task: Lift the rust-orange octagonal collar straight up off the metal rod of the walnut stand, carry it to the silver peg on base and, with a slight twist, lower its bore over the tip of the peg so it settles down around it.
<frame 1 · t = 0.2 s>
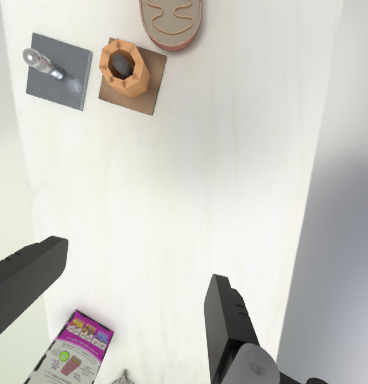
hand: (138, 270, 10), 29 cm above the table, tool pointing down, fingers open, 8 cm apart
silver peg on base: (60, 74, 34), on the table
collar: (131, 77, 33), point 1 cm above the table, touching stand
stand: (132, 79, 34), on the table
mug: (124, 382, 50), on the table
candy bar box: (91, 326, 46), on the table
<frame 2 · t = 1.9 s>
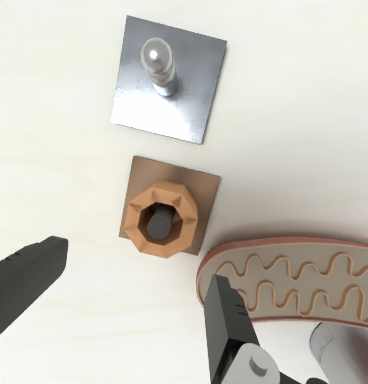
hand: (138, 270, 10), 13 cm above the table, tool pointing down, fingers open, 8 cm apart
silver peg on base: (167, 86, 20), on the table
collar: (167, 208, 22), point 1 cm above the table, touching stand
stand: (168, 205, 23), on the table
anatomical model: (283, 258, 24), on the table
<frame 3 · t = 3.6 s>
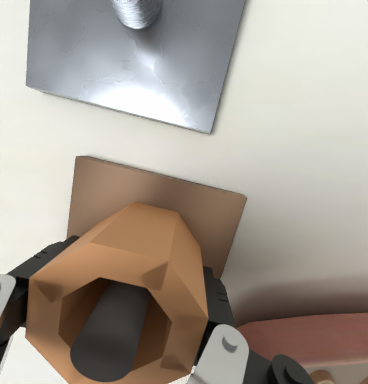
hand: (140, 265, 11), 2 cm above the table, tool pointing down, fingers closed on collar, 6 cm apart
silver peg on base: (141, 14, 10), on the table
collar: (145, 254, 12), point 1 cm above the table, touching gripper, stand
stand: (148, 246, 13), on the table
anatomical model: (346, 335, 14), on the table
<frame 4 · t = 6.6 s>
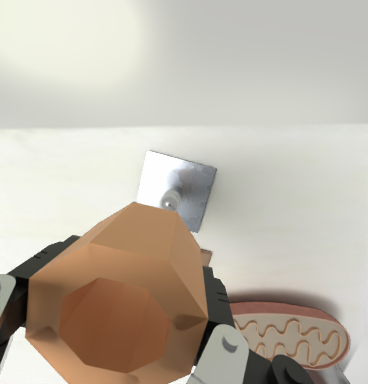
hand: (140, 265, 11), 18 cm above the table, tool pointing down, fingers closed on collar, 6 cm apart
silver peg on base: (174, 192, 28), on the table
collar: (145, 254, 12), point 17 cm above the table, touching gripper
anatomical model: (258, 312, 33), on the table
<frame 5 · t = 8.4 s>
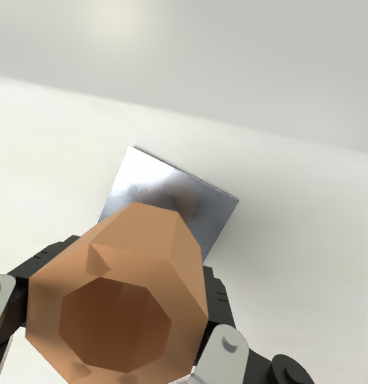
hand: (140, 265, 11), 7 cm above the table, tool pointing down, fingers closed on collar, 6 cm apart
silver peg on base: (161, 220, 17), on the table
collar: (145, 254, 12), point 6 cm above the table, touching gripper
when the fingers open (4 cm above the table, at t = 9.9 s): collar drops 2 cm, resting on silver peg on base.
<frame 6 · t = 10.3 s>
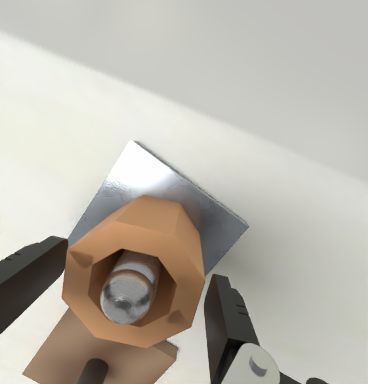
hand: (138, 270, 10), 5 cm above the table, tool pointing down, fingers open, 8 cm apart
silver peg on base: (153, 233, 15), on the table
collar: (152, 240, 14), point 1 cm above the table, touching silver peg on base
stand: (102, 355, 17), on the table
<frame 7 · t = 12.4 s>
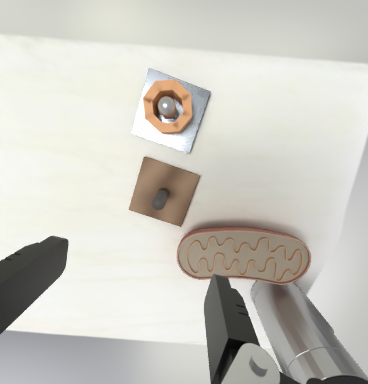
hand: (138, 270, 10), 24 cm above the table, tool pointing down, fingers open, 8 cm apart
silver peg on base: (170, 113, 31), on the table
collar: (170, 113, 30), point 1 cm above the table, touching silver peg on base
stand: (163, 192, 34), on the table
anatomical model: (236, 242, 37), on the table
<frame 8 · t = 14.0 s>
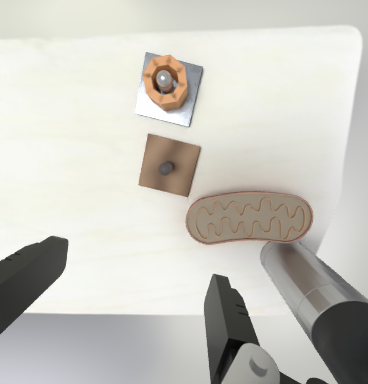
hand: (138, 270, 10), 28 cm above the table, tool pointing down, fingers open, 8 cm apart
silver peg on base: (168, 92, 34), on the table
collar: (168, 90, 33), point 1 cm above the table, touching silver peg on base
stand: (169, 166, 37), on the table
anatomical model: (241, 210, 39), on the table
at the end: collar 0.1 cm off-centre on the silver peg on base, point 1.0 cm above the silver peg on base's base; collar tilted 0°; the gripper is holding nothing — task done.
